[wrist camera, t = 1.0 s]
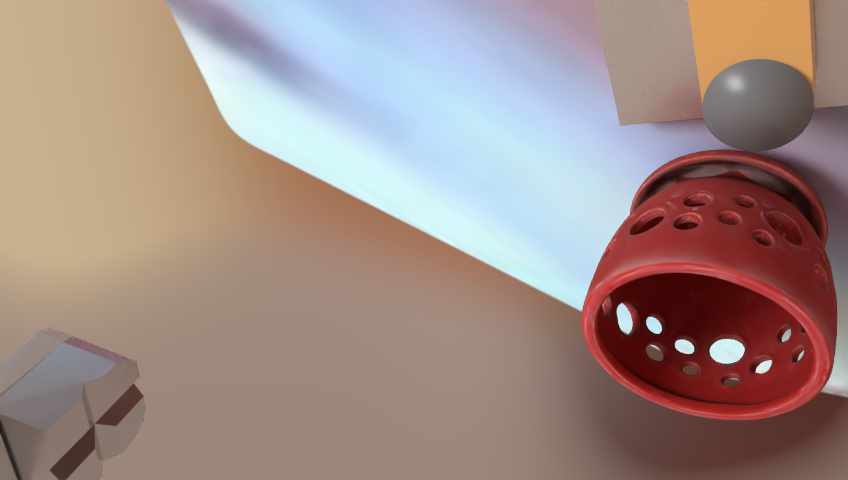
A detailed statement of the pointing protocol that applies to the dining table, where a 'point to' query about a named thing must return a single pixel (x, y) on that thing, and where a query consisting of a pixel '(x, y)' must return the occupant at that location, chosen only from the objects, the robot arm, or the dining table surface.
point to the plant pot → (718, 287)
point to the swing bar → (755, 69)
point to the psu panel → (694, 58)
